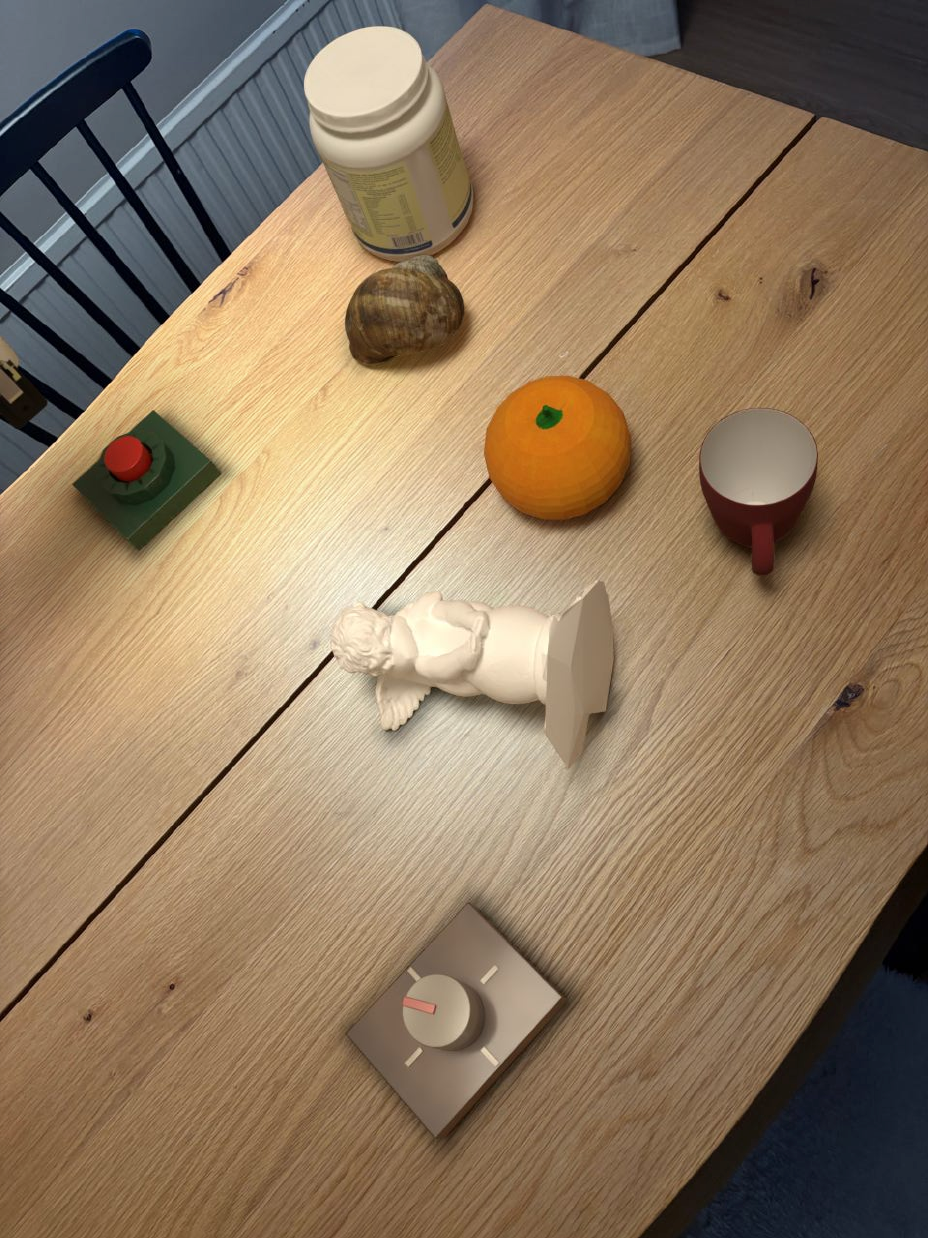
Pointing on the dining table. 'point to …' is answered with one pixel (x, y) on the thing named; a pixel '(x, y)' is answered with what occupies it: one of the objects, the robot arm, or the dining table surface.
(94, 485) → the box
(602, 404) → the fruit
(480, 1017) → the dial
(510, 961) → the dial panel
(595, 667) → the angel figurine
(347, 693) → the dining table surface
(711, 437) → the mug
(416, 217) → the supplement tub
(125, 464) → the button
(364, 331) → the seashell
